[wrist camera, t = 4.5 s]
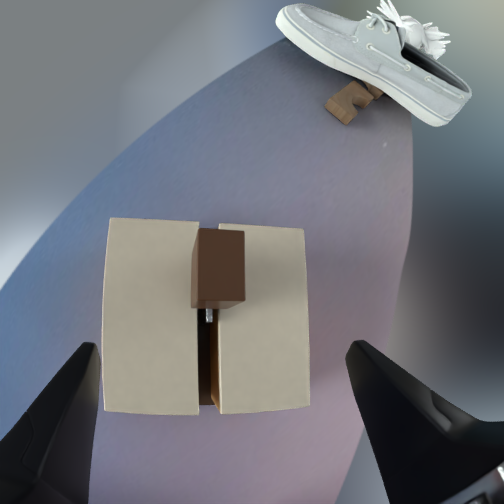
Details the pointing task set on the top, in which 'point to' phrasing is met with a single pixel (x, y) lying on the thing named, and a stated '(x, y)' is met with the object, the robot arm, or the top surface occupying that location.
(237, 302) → the brown wooden block
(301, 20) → the boat shoe
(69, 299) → the top surface
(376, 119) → the top surface
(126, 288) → the beige cardboard box
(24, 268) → the top surface
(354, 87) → the wooden blocks
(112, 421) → the top surface
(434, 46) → the white spiky tuft
